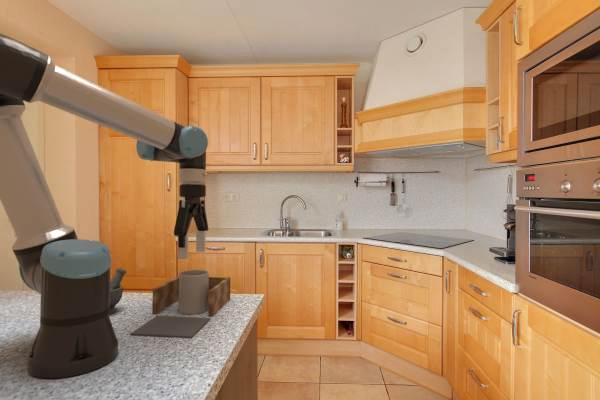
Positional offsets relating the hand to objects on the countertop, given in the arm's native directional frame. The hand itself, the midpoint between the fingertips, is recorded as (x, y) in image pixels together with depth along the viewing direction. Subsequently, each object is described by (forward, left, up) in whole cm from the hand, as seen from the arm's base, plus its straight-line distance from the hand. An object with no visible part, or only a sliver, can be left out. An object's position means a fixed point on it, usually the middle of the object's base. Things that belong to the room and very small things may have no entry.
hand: (192, 255), depth 104 cm
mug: (0, 0, -16) cm, 16 cm away
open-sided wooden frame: (+3, 0, -16) cm, 16 cm away
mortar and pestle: (-6, +23, -16) cm, 28 cm away
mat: (-15, -1, -16) cm, 22 cm away
